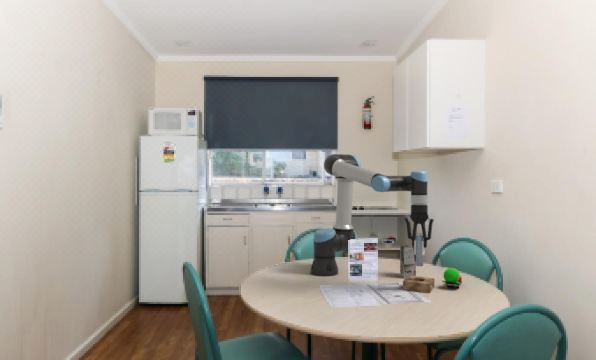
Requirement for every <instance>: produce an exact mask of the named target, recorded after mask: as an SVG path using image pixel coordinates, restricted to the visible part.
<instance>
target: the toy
mask: <svg viewBox="0 0 596 360" xmlns="http://www.w3.org/2000/svg"><path fill="white" fill-rule="evenodd" d="M443 279H444V280H441V282H443V283H445V286H446V287H447V286H448V288H455V287H456V289H460V284H462V282H463V279H462V276H461V275H460V271H459V270H458V269H456V268H454V267H450V268H449V267H448V268H447V269H446V270H445V271H444V272H443Z"/></svg>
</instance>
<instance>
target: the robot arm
mask: <svg viewBox="0 0 596 360" xmlns="http://www.w3.org/2000/svg"><path fill="white" fill-rule="evenodd" d="M323 168H324V171H325V173H327V174H328V175H330V176H333V177H335V178H334V179H335V180H336V181H337V189H336V191H337V192H336V209H335V211H336V213H335V224H333V225H332V228H321V229H317V230H316V231H315V232H314V234H313V259H312V260H313V261H312V263H311V266H310V274H311V275H313V274H314V276H318V277H330V276H337V275H339V266H338V264H337V260H336V253H338V252H346V251H349V250H348V240H350V239H357V240H358V235H357V233H356V231H355V230H354V226H353V225H352V211H353V195H354V194H353V193H354V192H353V191H354V182H355V183H358V184H361V185H364V186H366V187H370V188H372V189H373V190H374V191H375V192H377V193H378V192H380V193H386V192H387V193H388V192H391V193H392V192H410V203H411V205H410V215H409V216H408V217H405V218H404V221H405V223H406V232H407V238H408V239H409V240H411V245H412V247H414V254H415V255H416V235H417V232H418V230H417V229H418V225H420V227H421V233H422V236H423V241H422V255H423V256H425V251H426V250H425V249H426V248H427V246H428V241H430V240H431V239H432V232H433V224H434V221H435V219H434V218H432V217H430V216H429V214H428V210H429V209H428V202H429V199H428V181H429V180H428V172H426V171H423V170H422V171H421V170H420V171H418V170H417V171H411V172H410V175H385V174H381V173H379V172H376V171H372V170H370V169H366V168H363V167H362V164H361V161H360V159H359V157H357V156H356V155H355V154H354V155H353V154H343V153H342V154H339V153H338V154H337V153H333V154H330V155H328V156H327V157H326V158H325V160H324V162H323ZM411 221H412V223H413V225H412V226H413V229H412V227H411ZM427 221H428V226H427V227H428V228H426V222H427ZM426 229H428V230H426Z"/></svg>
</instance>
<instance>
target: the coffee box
mask: <svg viewBox="0 0 596 360" xmlns="http://www.w3.org/2000/svg"><path fill="white" fill-rule="evenodd" d="M399 258H400V260H399V262H400V265H399V268H400V269H399V273H400V274H399V275H400V276H401V277H402V278H403V279H406V278H407V277H408V276H417V275H416V274H417V271H416V270H417V266H416V255H415V254H414V247H412V244H400V246H399Z"/></svg>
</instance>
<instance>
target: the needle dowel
mask: <svg viewBox="0 0 596 360" xmlns="http://www.w3.org/2000/svg"><path fill="white" fill-rule="evenodd" d="M415 240H416V267H424V255H422V241H423V234H422V232H416V239H415Z"/></svg>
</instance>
